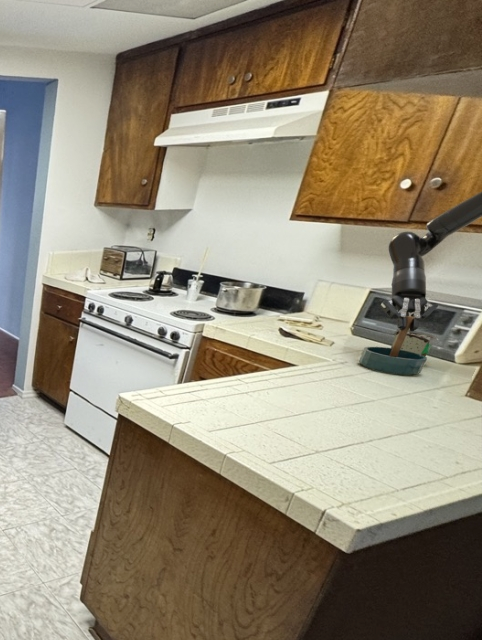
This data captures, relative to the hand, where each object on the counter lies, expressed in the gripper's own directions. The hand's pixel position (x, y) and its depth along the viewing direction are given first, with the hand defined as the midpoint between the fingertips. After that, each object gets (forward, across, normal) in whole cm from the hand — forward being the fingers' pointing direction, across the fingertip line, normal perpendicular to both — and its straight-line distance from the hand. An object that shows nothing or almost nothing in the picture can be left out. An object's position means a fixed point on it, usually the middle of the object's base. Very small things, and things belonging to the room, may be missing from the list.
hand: (408, 329), depth 148 cm
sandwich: (-2, +10, +22) cm, 24 cm away
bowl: (+8, 0, +11) cm, 14 cm away
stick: (+6, 0, +9) cm, 11 cm away
